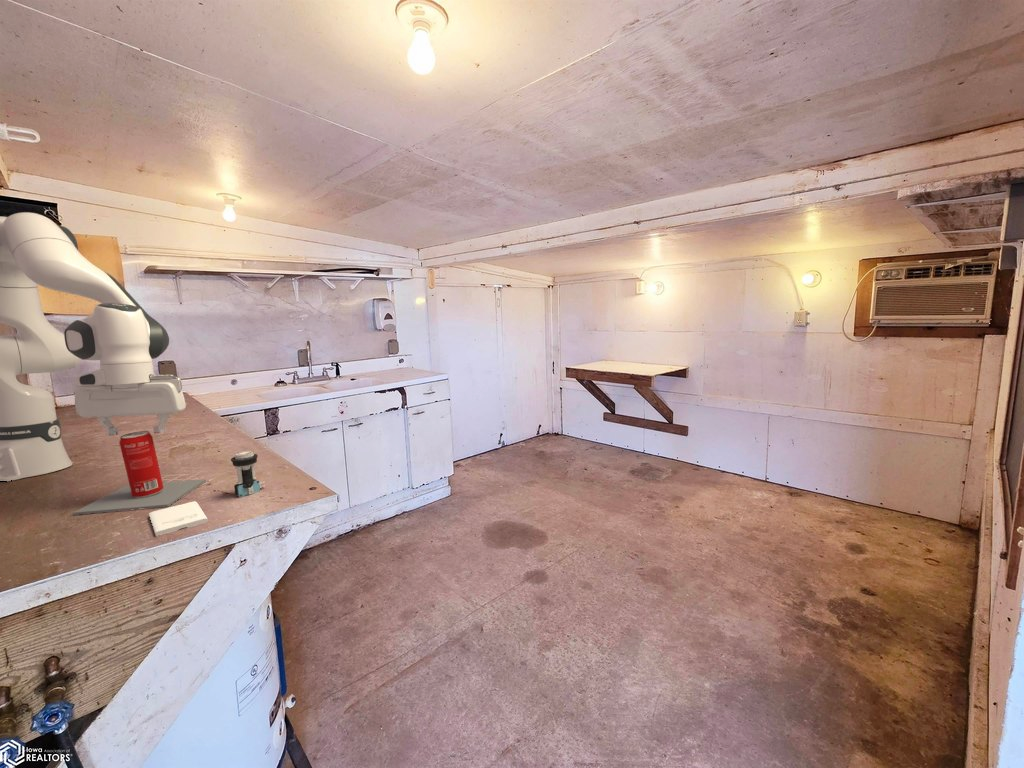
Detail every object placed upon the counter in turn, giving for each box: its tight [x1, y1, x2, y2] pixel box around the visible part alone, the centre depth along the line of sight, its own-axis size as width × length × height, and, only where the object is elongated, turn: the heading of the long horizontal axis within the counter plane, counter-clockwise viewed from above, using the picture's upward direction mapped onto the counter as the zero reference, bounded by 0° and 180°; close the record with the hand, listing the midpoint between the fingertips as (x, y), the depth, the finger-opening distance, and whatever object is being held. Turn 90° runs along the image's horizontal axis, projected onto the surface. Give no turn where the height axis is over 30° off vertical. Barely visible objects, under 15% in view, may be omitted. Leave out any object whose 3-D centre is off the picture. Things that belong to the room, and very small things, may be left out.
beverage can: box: [119, 430, 164, 498], centre depth 97 cm, size 6×6×15 cm
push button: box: [230, 450, 266, 498], centre depth 99 cm, size 7×5×10 cm
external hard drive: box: [148, 501, 208, 537], centre depth 86 cm, size 2×8×12 cm
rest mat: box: [72, 479, 207, 516], centre depth 98 cm, size 18×16×1 cm
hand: (136, 433), depth 96 cm, fingers open, 8 cm apart
